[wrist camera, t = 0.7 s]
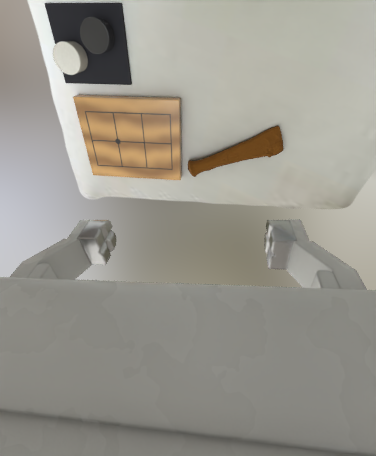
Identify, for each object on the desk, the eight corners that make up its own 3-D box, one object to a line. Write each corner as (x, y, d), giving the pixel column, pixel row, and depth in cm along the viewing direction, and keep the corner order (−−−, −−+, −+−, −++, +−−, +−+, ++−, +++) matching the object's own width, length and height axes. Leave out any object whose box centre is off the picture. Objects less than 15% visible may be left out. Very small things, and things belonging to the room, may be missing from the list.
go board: (77, 94, 47) (72, 96, 46) (180, 97, 46) (179, 100, 44) (96, 171, 57) (93, 175, 56) (181, 176, 56) (180, 180, 54)
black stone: (84, 17, 40) (76, 16, 37) (112, 17, 39) (105, 16, 37) (91, 52, 43) (83, 53, 40) (117, 52, 42) (111, 54, 40)
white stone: (58, 40, 42) (48, 41, 40) (84, 40, 42) (75, 41, 39) (66, 72, 45) (57, 74, 43) (90, 72, 44) (83, 75, 42)
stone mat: (45, 3, 39) (44, 3, 39) (121, 3, 38) (121, 3, 38) (66, 82, 46) (65, 83, 46) (131, 84, 45) (131, 84, 45)
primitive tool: (278, 124, 47) (282, 130, 44) (284, 150, 50) (287, 158, 47) (186, 158, 53) (184, 165, 50) (195, 180, 56) (194, 188, 53)
